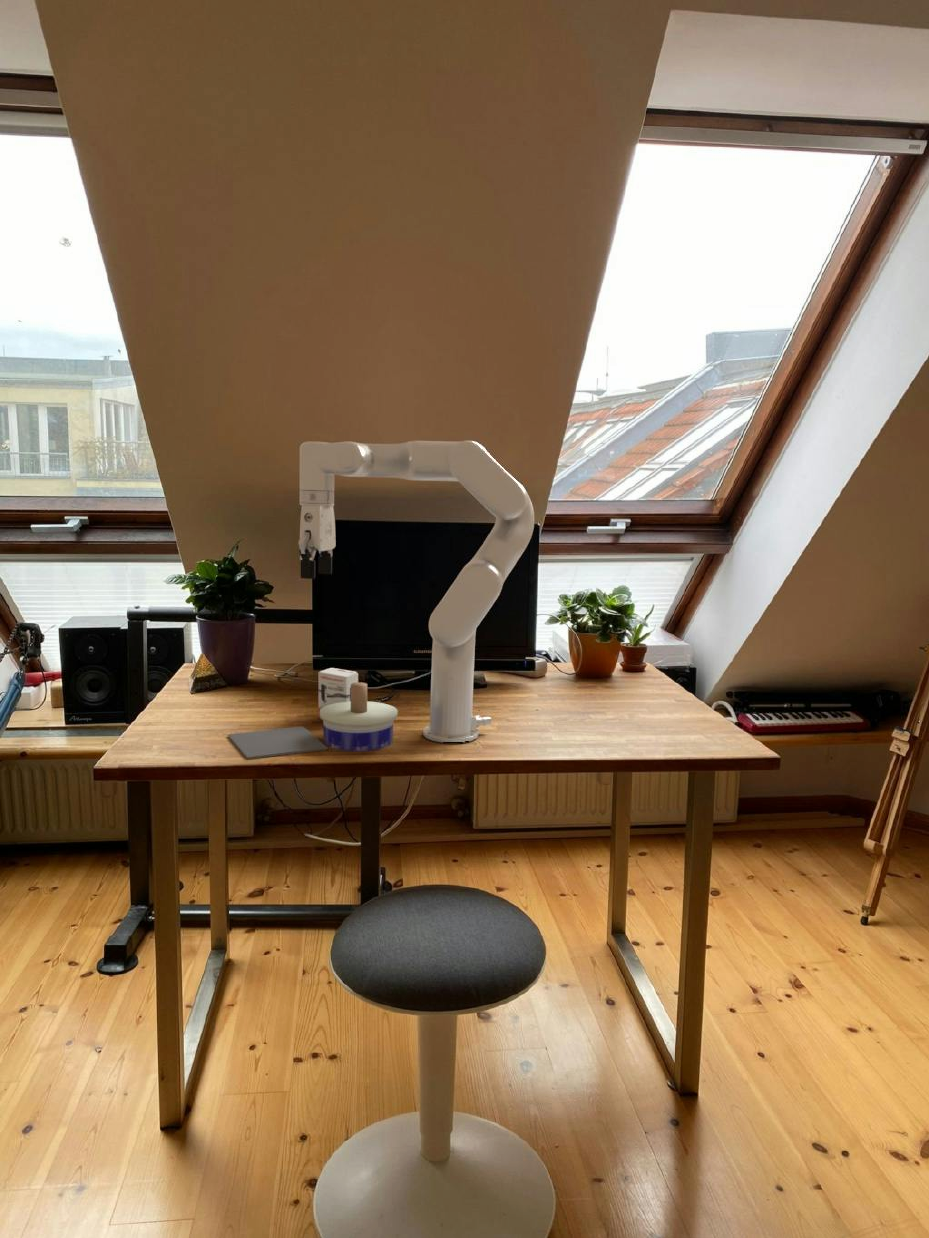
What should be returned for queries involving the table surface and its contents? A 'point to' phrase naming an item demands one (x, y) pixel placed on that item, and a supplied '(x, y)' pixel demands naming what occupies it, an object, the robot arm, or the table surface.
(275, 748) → the mat
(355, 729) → the dog bowl
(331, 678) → the ink box
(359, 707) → the lid
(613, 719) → the table surface
